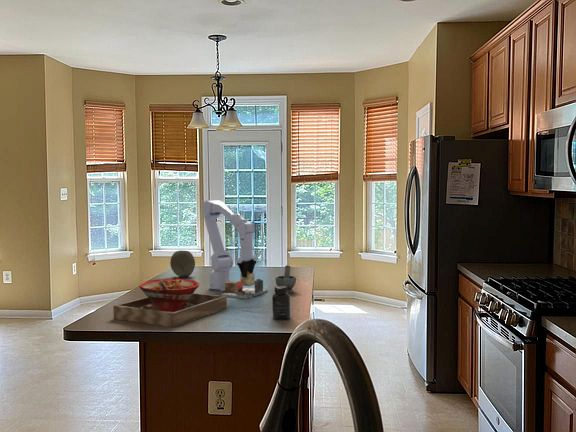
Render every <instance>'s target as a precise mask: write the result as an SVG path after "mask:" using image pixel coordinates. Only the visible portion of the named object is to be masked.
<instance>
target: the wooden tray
mask: <svg viewBox="0 0 576 432" xmlns="http://www.w3.org/2000/svg"><path fill="white" fill-rule="evenodd" d="M227 299H228V297H227V296H220V294H219V295H217V294H208V293H199V292H194V293H193V294H192V296H191V297H190V299H189V300H188V301H187V302H186V303H189V304H193V305H194V306H192V305H191V306H190V305H189V304H188V305H187V306H189V307H187V308H185V309H182V310H179V311H176V312H166V311H158V310H150V309H142V308H139V307H142V306H143V305H146V304H150V303H152V301H151V299H150V298H149V297H148V296H146V297H141V298H138V299H134V300H130V301H127V302H126V301H125V302H122V303H117V304H113V307H112V308H113V319H114V320H121V321H127V320H128V322H134V321H135V322H134V323H141V322H142V324H148V325H149V324H150V325H156V326H161V325H162V326H164V327H168V326H169V328H175V326H176V327H178V325H179V326H181V324H182V325H184V324H187V323H190V322H192V320H193V321H195V320H194V319H196V320H198V319H200V317H201V318H203V316H204V317H206V316H205V315H207V316H208V315H212V314H214V313H218V312H221V311H223V310H226V309H228V304H227V302H228V300H227ZM211 313H212V314H211ZM197 318H198V319H197ZM189 321H190V322H189ZM186 322H187V323H186Z"/></svg>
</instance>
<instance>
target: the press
mask: <svg viewBox="0 0 576 432" xmlns="http://www.w3.org/2000/svg"><path fill="white" fill-rule="evenodd" d="M243 291H245V294H244V295H246V293H249V292H251V294H252V297H258V296H260V295H263V294H265V293H268V289H267V288H264V280H263V279H262V278H256V280H255V285H254V287H246V288H245V287H243ZM233 294H235V292H234V293H233Z"/></svg>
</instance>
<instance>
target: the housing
mask: <svg viewBox="0 0 576 432" xmlns="http://www.w3.org/2000/svg"><path fill="white" fill-rule="evenodd" d="M239 275H240V276H239V277H240V280H239V281H243V287H251V286H255V281H256V280H255V275H256V274H255V272H253V273H249V272H247V277H242V275H241V273H240V274H239Z"/></svg>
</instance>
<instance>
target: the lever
mask: <svg viewBox="0 0 576 432" xmlns="http://www.w3.org/2000/svg"><path fill="white" fill-rule="evenodd" d="M236 281H237V280H236ZM243 289H244V286H243V281H240V280H238V281H237V291H235V295H244V294H245V291H243Z"/></svg>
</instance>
